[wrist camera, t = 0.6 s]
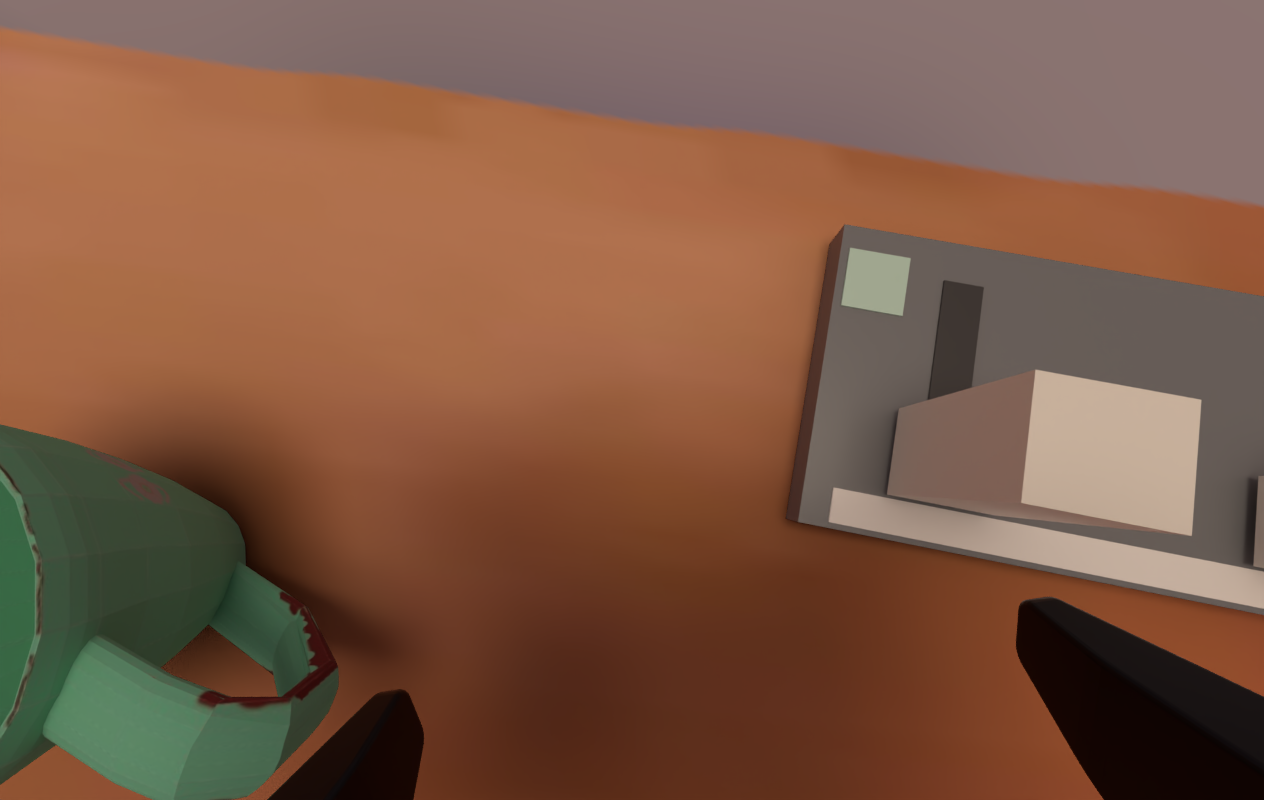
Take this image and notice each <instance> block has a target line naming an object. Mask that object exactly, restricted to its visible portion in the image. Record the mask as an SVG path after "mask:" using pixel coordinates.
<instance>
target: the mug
mask: <svg viewBox="0 0 1264 800" xmlns="http://www.w3.org/2000/svg"><path fill="white" fill-rule="evenodd" d="M207 625H210V626H211V627H212V628H214V629H215V630H216V631H217V632H219V633H220V634H221V635H223V636H224V637H225V638H226V639H228V640H229V641H230V642H232V643H233V644H234V645H235V646H237V647H238V648H239V649H241V650H242V651H243V652H244V653H246V654H247V655H248V656H250V657H251V658H252V659H253V660H255V661H256V662H257V663H259V664H260V665H261V666H262V667H264V668H265V669H266V670H268V671H269V672H270V673H271V674H273V675H274V679H275V684H276V689H277V694H278V697H230V696H227V695H225V694H222V693H219V692H216V691H214V690H211V689H208V688H206V687H203V686H200V685H197V684H195V683H192V682H189V681H187V680H184V679H181V678H178V677H176V676H173V675H171V674H169V673H168V672H166V671H164V670H163V669H161V667H162V666H163V665H165V664H166V663H167V662H168V661H169V660H170V659H172V658H173V657H174V656H175V655H176V654H177V653H179V652H180V651H181V650H182V649H183V648H184V647H185V646H186V645H187V644H188V643H189V642H190V641H192V640H193V639H194V638H195V637H196V636H197V635H198V634H199V633H200V632H201V631H202V630H203V629H204V628H205V627H206V626H207ZM338 678H339V675H338V666H337V663H336V661H335V659H334V657H333V655H332V653H331V651H330V649H329V647H328V645H327V643H326V641H325V639H324V637H323V635H322V633H321V632H320V630H319V628H318V626H317V624H316V622H315V620H314V618H313V616H312V614H311V612H310V610H309V608H308V607H307V606H306V605H304V604H303V603H301V602H300V601H298V600H297V599H295V598H294V597H292V596H291V595H289V594H288V593H286V592H285V591H283V590H282V589H280V588H279V587H277V586H276V585H274V584H273V583H271V582H270V581H268V580H267V579H265V578H264V577H262V576H261V575H259V574H258V573H256V572H255V571H253V570H252V569H250V568H249V567H247V566H246V552H245V542H244V539H243V537H242V534H241V531H240V528H239V526H238V524H237V523H236V522H235V521H234V520H233V518H232V517H231V516H230V515H229V514H228V512H227V511H225V510H224V509H222V508H220V507H219V506H217V505H215V504H214V503H212V502H210V501H208V500H207V499H205V498H203V497H201V496H199V495H198V494H196V493H194V492H192V491H190V490H189V489H187V488H185V487H183V486H182V485H180V484H178V483H176V482H174V481H173V480H171V479H168V478H166V477H163V476H161V475H159V474H156V473H154V472H151V471H149V470H146V469H144V468H142V467H139V466H137V465H134V464H132V463H130V462H127V461H125V460H122V459H120V458H117V457H114V456H111V455H108V454H105V453H102V452H99V451H96V450H93V449H90V448H87V447H84V446H81V445H78V444H74V443H71V442H68V441H65V440H61V439H57V438H53V437H49V436H45V435H41V434H37V433H33V432H29V431H25V430H21V429H17V428H12V427H8V426H4V425H0V785H1V784H2V783H3V782H5V781H6V780H8V779H9V778H10V777H12V776H13V775H14V774H16V773H17V772H19V771H20V770H21V769H23V768H24V767H26V766H27V765H28V764H30V763H31V762H33V761H34V760H35V759H37V758H38V757H40V756H41V755H42V754H44V753H45V752H47V751H48V750H49V749H51V748H52V747H54V746H55V745H58V746H59V747H61V748H62V749H64V750H65V751H67V752H68V753H70V754H71V755H73V756H74V757H76V758H77V759H79V760H80V761H82V762H83V763H85V764H86V765H88V766H89V767H91V768H92V769H94V770H95V771H97V772H98V773H100V774H101V775H103V776H104V777H106V778H107V779H109V780H110V781H112V782H113V783H115V784H117V785H120V786H122V787H124V788H127V789H129V790H132V791H134V792H136V793H139V794H141V795H143V796H146V797H148V798H151V799H153V800H231V799H237V798H243V797H247V796H248V795H250V794H251V793H253V792H254V791H255V790H257V789H258V788H259V787H260V786H261V785H263V784H264V783H265V781H266V780H267V779H268V778H269V777H270V776H271V775H272V774H273V773H274V772H275V771H276V770H277V769H278V768H279V767H280V766H281V765H282V764H283V763H284V762H285V761H286V760H287V759H288V758H289V757H290V756H291V755H292V754H293V753H294V752H295V751H296V750H297V749H298V747H299V746H300V745H301V744H302V743H303V742H304V741H305V740H306V739H307V738H308V737H309V736H310V735H311V734H312V733H313V732H314V730H315V729H316V728H317V727H318V725H319V724H320V723H321V721H322V720H323V719H324V717H325V716H326V715H327V713H328V712H329V710H330V707H331V705H332V703H333V700H334V698H335V695H336V692H337V689H338Z"/></svg>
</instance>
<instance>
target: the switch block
mask: <svg viewBox="0 0 1264 800" xmlns="http://www.w3.org/2000/svg"><path fill="white" fill-rule="evenodd" d="M1032 370H1041V371H1046V372H1052V373H1057V374H1063V375H1068V376H1074V377H1079V378H1085V379H1090V380H1096V381H1101V382H1107V383H1112V384H1118V385H1123V386H1129V387H1134V388H1140V389H1145V390H1150V391H1156V392H1161V393H1167V394H1172V395H1178V396H1183V397H1189V398H1194V399H1200V400H1201V414H1200V428H1199V442H1198V456H1197V470H1196V484H1195V498H1194V512H1193V526H1192V536H1187V535H1177V534H1168V533H1158V532H1148V531H1139V530H1129V529H1120V528H1110V527H1100V526H1091V525H1081V524H1072V523H1062V522H1052V521H1043V520H1033V519H1024V518H1014V517H1004V516H995V515H989V514H984V513H979V512H974V511H969V510H964V509H959V508H954V507H949V506H943V505H938V504H933V503H928V502H923V501H918V500H913V499H908V498H903V497H897V496H892V495H887V490H888V483H889V476H890V469H891V461H892V454H893V447H894V440H895V433H896V425H897V418H898V411H899V408H902V407H905V406H909V405H912V404H916V403H919V402H923V401H927V400H930V399H934V398H937V397H941V396H944V395H948V394H951V393H955V392H958V391H962V390H965V389H969V388H972V387H976V386H979V385H983V384H987V383H990V382H994V381H997V380H1001V379H1004V378H1008V377H1011V376H1015V375H1018V374H1022V373H1025V372H1029V371H1032ZM1259 476H1264V296H1258V295H1252V294H1246V293H1240V292H1235V291H1229V290H1223V289H1217V288H1211V287H1205V286H1200V285H1194V284H1188V283H1182V282H1176V281H1171V280H1165V279H1159V278H1153V277H1147V276H1142V275H1136V274H1130V273H1124V272H1118V271H1112V270H1107V269H1101V268H1095V267H1089V266H1083V265H1078V264H1072V263H1066V262H1060V261H1054V260H1049V259H1043V258H1037V257H1031V256H1025V255H1019V254H1014V253H1008V252H1002V251H996V250H990V249H985V248H979V247H973V246H967V245H961V244H955V243H950V242H944V241H938V240H932V239H926V238H921V237H915V236H909V235H903V234H897V233H892V232H886V231H880V230H874V229H868V228H862V227H857V226H851V225H844V226H843V227H842V229H841V230H840V231H839V233H838V234H837V235H836V236H835V238H834V239H833V240H832V242H831V243H830V245H829V252H828V258H827V264H826V270H825V277H824V283H823V289H822V295H821V302H820V308H819V314H818V320H817V327H816V333H815V339H814V345H813V352H812V358H811V364H810V370H809V377H808V383H807V389H806V395H805V402H804V408H803V414H802V420H801V427H800V433H799V439H798V445H797V452H796V458H795V464H794V470H793V477H792V483H791V489H790V495H789V502H788V508H787V514H786V519H790V520H793V521H797V522H801V523H806V524H811V525H816V526H821V527H826V528H831V529H836V530H841V531H846V532H851V533H856V534H861V535H866V536H871V537H876V538H881V539H886V540H891V541H896V542H901V543H906V544H911V545H916V546H921V547H926V548H931V549H936V550H941V551H946V552H951V553H956V554H961V555H966V556H971V557H976V558H981V559H986V560H991V561H996V562H1001V563H1006V564H1011V565H1016V566H1021V567H1026V568H1031V569H1036V570H1041V571H1046V572H1051V573H1056V574H1061V575H1066V576H1071V577H1076V578H1081V579H1086V580H1091V581H1096V582H1101V583H1106V584H1111V585H1116V586H1121V587H1126V588H1131V589H1136V590H1141V591H1146V592H1151V593H1156V594H1161V595H1166V596H1171V597H1176V598H1181V599H1186V600H1191V601H1196V602H1201V603H1206V604H1211V605H1216V606H1221V607H1226V608H1231V609H1236V610H1242V611H1247V612H1252V613H1257V614H1262V615H1264V568H1260V567H1255V566H1253V564H1254V546H1255V529H1256V511H1257V494H1258V477H1259Z"/></svg>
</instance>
